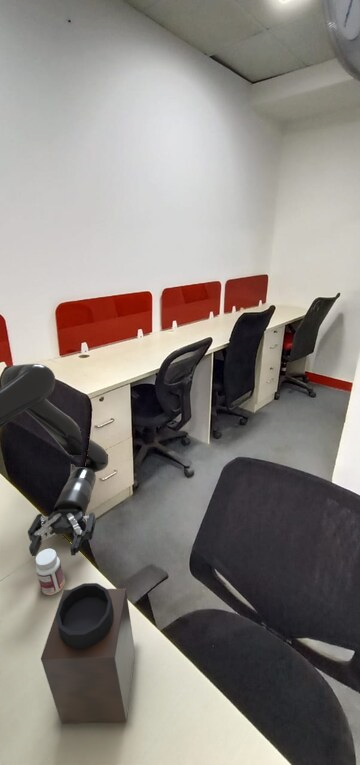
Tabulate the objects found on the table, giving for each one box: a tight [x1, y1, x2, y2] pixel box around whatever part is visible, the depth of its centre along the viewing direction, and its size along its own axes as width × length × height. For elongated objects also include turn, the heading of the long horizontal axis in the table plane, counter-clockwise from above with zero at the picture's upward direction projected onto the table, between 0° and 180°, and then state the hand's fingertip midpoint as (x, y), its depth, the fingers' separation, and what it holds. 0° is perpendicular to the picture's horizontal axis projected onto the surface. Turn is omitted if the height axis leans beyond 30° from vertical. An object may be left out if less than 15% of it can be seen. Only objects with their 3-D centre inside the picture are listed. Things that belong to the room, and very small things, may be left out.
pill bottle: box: [35, 548, 66, 596], centre depth 74 cm, size 5×5×8 cm
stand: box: [40, 588, 136, 724], centre depth 55 cm, size 10×10×16 cm
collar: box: [55, 582, 114, 649], centre depth 52 cm, size 8×8×3 cm
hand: (52, 553), depth 76 cm, fingers open, 8 cm apart
